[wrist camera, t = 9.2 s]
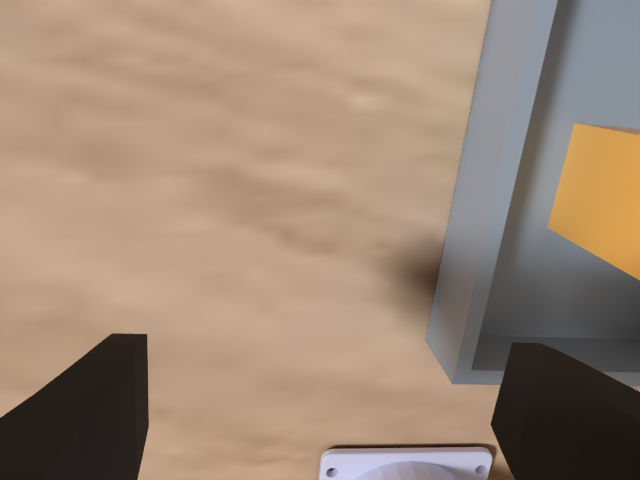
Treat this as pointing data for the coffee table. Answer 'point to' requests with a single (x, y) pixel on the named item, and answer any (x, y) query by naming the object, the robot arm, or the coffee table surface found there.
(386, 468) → the robot arm
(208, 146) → the coffee table surface
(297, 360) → the coffee table surface
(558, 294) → the tray
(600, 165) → the orange fuse
